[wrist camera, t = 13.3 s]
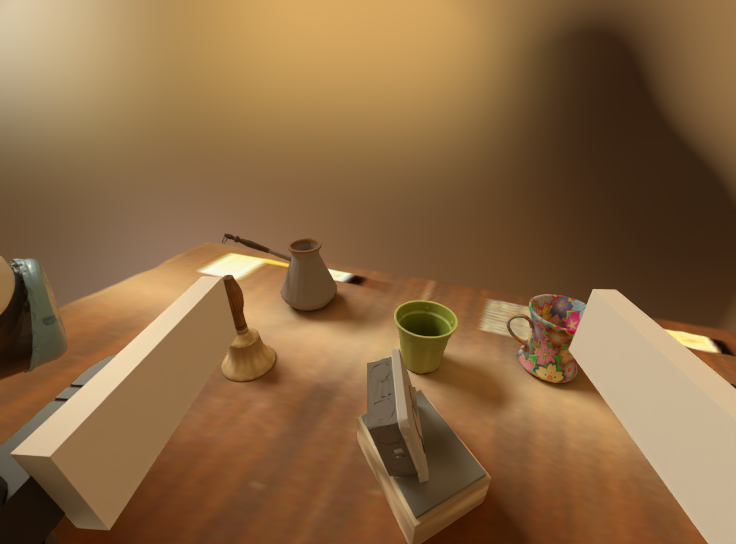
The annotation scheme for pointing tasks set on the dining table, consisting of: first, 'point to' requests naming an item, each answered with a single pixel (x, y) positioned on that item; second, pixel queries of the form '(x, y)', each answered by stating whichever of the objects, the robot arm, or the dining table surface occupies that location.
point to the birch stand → (446, 477)
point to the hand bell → (244, 342)
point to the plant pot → (424, 333)
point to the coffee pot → (302, 274)
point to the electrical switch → (395, 417)
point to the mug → (550, 337)
